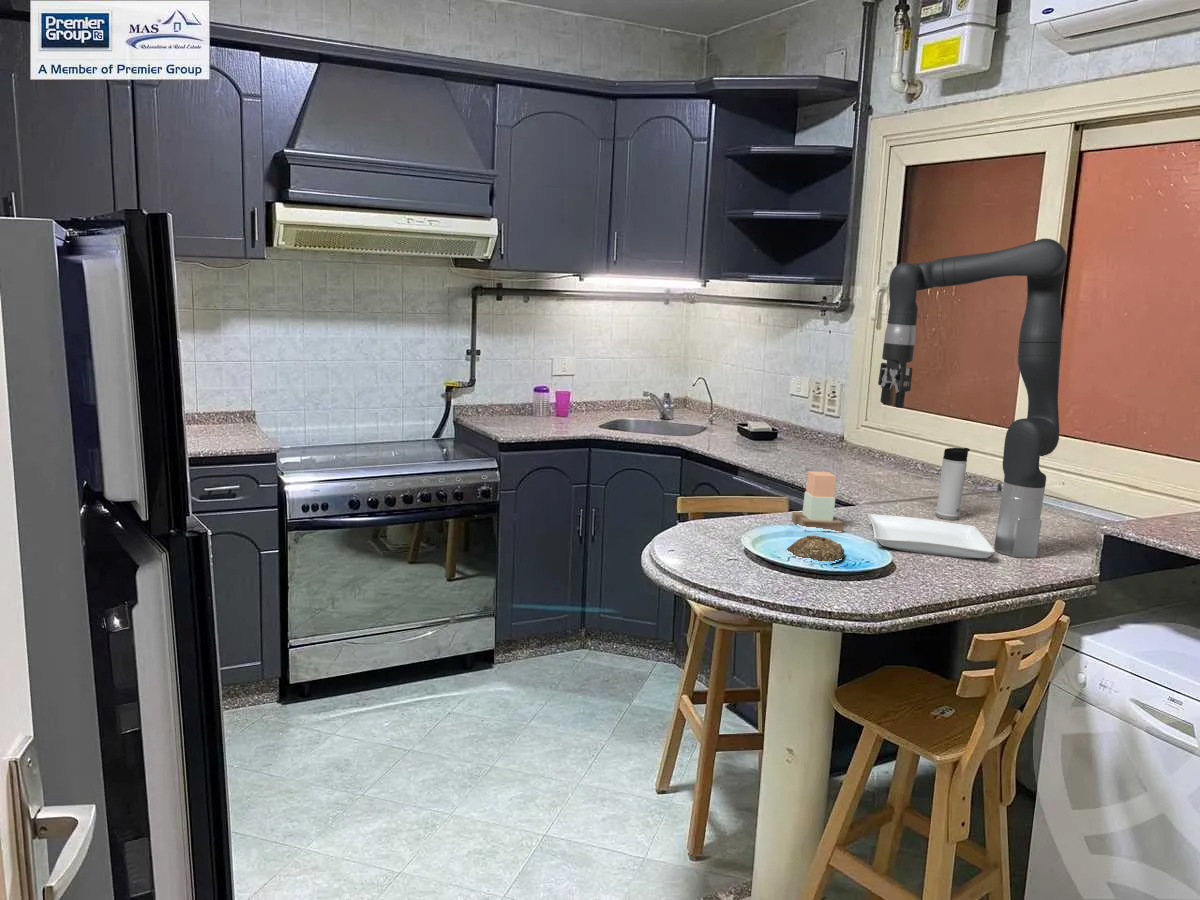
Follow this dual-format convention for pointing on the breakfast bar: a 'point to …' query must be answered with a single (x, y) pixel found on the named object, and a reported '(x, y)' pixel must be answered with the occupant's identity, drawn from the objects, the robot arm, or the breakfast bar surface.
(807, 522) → the walnut slab
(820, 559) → the bread roll
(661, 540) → the breakfast bar surface
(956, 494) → the travel mug
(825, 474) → the terracotta block
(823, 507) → the sage block
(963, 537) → the square plate
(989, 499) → the breakfast bar surface
